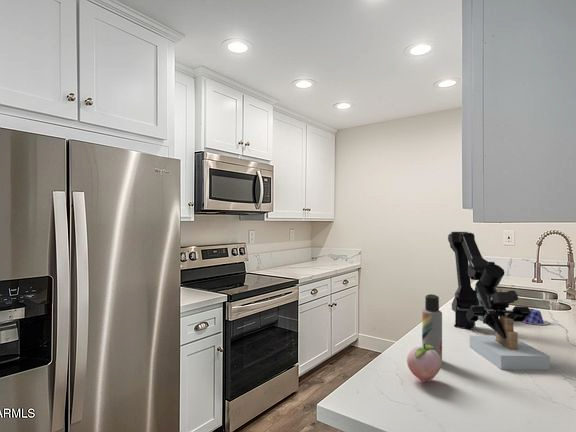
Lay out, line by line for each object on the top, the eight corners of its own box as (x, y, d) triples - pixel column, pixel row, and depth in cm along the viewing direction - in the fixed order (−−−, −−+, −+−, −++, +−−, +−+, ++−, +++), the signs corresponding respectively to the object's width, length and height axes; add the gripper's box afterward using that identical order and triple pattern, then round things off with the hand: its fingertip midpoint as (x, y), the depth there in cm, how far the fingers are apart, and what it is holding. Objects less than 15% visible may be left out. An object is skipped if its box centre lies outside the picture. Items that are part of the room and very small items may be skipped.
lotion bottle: (441, 358, 110) (441, 294, 111) (442, 365, 105) (442, 297, 105) (421, 355, 112) (421, 292, 112) (422, 362, 107) (422, 296, 107)
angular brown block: (495, 352, 115) (495, 314, 115) (501, 352, 115) (501, 314, 115) (511, 362, 107) (510, 321, 107) (517, 362, 107) (517, 321, 107)
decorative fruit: (414, 371, 101) (414, 336, 101) (444, 379, 96) (444, 342, 96) (401, 382, 93) (401, 344, 94) (433, 392, 88) (433, 352, 88)
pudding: (556, 326, 146) (556, 313, 146) (526, 326, 147) (526, 313, 147) (537, 318, 158) (537, 306, 158) (509, 318, 159) (509, 306, 159)
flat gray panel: (469, 347, 120) (469, 335, 120) (510, 347, 120) (510, 335, 120) (500, 369, 102) (500, 355, 102) (549, 369, 102) (549, 355, 102)
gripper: (470, 281, 116) (489, 324, 104) (527, 281, 115) (552, 325, 104) (458, 299, 123) (475, 342, 112) (512, 300, 123) (534, 343, 112)
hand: (509, 338), depth 110 cm, fingers closed on angular brown block, 2 cm apart
